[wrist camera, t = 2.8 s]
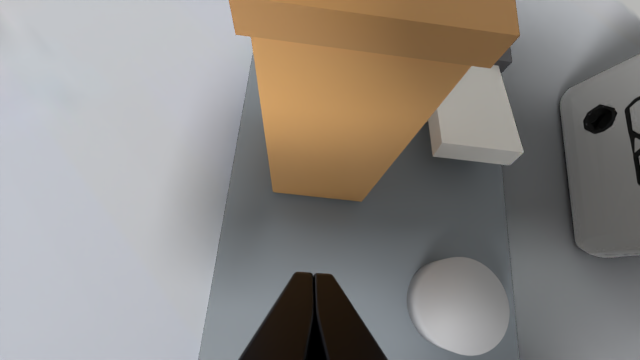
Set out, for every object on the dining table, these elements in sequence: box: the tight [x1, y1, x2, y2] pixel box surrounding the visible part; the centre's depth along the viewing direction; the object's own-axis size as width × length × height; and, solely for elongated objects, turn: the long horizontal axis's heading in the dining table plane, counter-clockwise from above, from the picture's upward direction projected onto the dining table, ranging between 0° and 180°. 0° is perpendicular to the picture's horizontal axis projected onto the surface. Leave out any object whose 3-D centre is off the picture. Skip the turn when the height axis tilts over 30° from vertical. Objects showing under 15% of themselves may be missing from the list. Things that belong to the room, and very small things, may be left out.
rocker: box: [428, 65, 524, 165], centre depth 16 cm, size 6×4×1 cm, turn 175°
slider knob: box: [229, 0, 520, 202], centre depth 11 cm, size 4×4×11 cm
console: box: [198, 47, 519, 360], centre depth 16 cm, size 18×13×3 cm
